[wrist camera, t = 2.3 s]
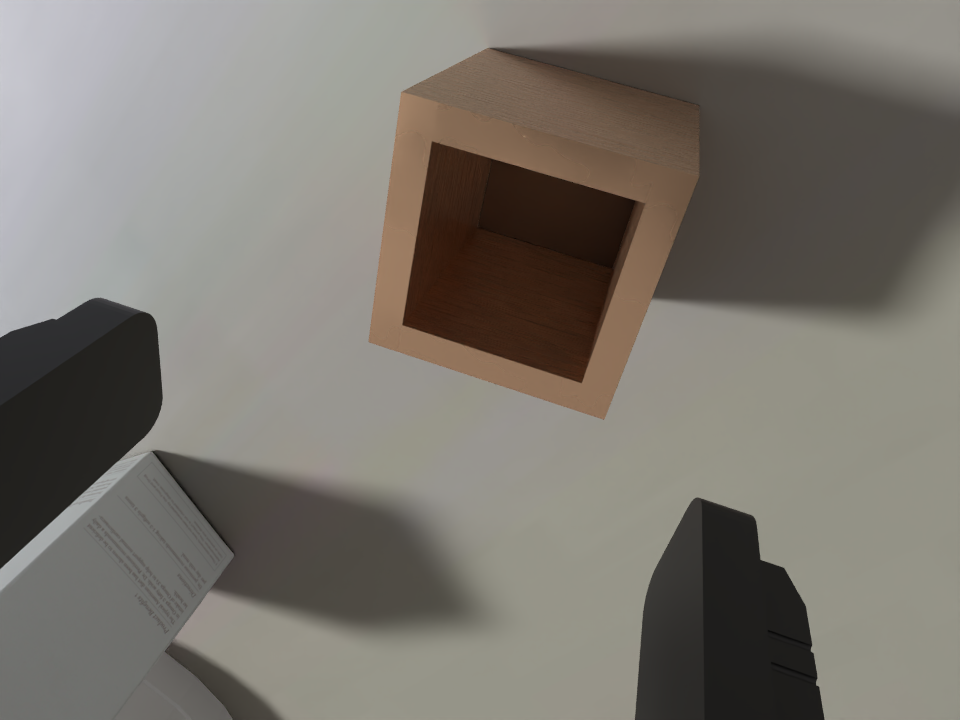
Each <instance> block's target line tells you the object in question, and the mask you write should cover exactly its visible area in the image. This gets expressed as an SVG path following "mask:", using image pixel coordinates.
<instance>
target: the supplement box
mask: <svg viewBox="0 0 960 720" xmlns="http://www.w3.org/2000/svg"><path fill="white" fill-rule="evenodd" d="M233 557H234V554H233V553H232V551H231V550H230V549H229V548H228V547H227V545H226V544H225V543H224V542H223V540H222V539H221V538H220V537H219V535H218V534H217V533H216V532H215V530H214V529H213V528H212V527H211V525H210V524H209V523H208V522H207V520H206V519H205V518H204V517H203V515H202V514H201V513H200V512H199V510H198V509H197V508H196V507H195V505H194V504H193V503H192V502H191V500H190V499H189V498H188V496H187V495H186V494H185V493H184V491H183V490H182V489H181V488H180V486H179V485H178V484H177V482H176V481H175V480H174V479H173V477H172V476H171V475H170V473H169V472H168V471H167V470H166V468H165V467H164V466H163V465H162V463H161V462H160V461H159V460H158V458H157V457H156V456H155V455H154V453H153V452H147V453H144V454H140V455H137V456H133V457H130V458H127V459H124V460H120V461H118V462H117V463H115V464H114V465H113V466H112V467H111V468H110V469H109V470H108V471H107V472H106V473H105V474H103V475H102V476H101V477H100V478H99V479H98V480H97V481H96V482H95V483H94V484H93V485H91V486H90V487H89V488H88V489H87V490H86V491H85V492H84V493H83V494H82V495H81V496H79V497H78V498H77V499H76V500H75V501H74V502H73V503H72V504H71V505H70V506H69V507H67V508H66V509H65V510H64V511H63V512H62V513H61V514H60V515H59V516H58V517H57V518H56V519H54V520H53V521H52V522H51V523H50V524H49V525H48V526H47V527H46V528H45V529H44V530H42V531H41V532H40V533H39V534H38V535H37V536H36V537H35V538H34V539H33V540H32V541H30V542H29V543H28V544H27V545H26V546H25V547H24V548H23V549H22V550H21V551H20V552H18V553H17V554H16V555H15V556H14V557H13V558H12V559H11V560H10V561H9V562H8V563H6V564H5V565H4V566H3V567H2V568H1V569H0V720H114V719H115V718H116V716H117V715H118V714H119V712H120V711H121V710H122V708H123V707H124V706H125V704H126V703H127V702H128V700H129V699H130V697H131V696H132V695H133V694H134V692H135V691H136V690H137V688H138V687H139V686H140V684H141V683H142V681H143V680H144V679H145V677H146V676H147V675H148V673H149V672H150V671H151V669H152V668H153V666H154V665H155V664H156V663H157V661H158V660H159V658H160V657H161V656H162V654H163V653H164V652H165V650H166V649H167V648H168V646H169V645H170V644H171V642H172V641H173V640H174V638H175V637H176V636H177V634H178V633H179V631H180V630H181V629H182V627H183V626H184V624H185V623H186V622H187V620H188V619H189V618H190V617H191V615H192V614H193V612H194V611H195V610H196V608H197V607H198V606H199V604H200V603H201V602H202V600H203V599H204V597H205V596H206V594H207V593H208V592H209V590H210V589H211V587H212V586H213V585H214V583H215V582H216V581H217V579H218V578H219V576H220V575H221V574H222V572H223V571H224V569H225V568H226V567H227V565H228V564H229V563H230V561H231V560H232V559H233Z"/></svg>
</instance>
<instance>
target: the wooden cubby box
mask: <svg viewBox="0 0 960 720" xmlns="http://www.w3.org/2000/svg"><path fill="white" fill-rule="evenodd" d="M492 159H495V160H498V161H502V162H505V163H509V164H512V165H516V166H519V167H522V168H526V169H529V170H533V171H536V172H540V173H543V174H546V175H550V176H553V177H557V178H560V179H564V180H567V181H571V182H574V183H577V184H581V185H584V186H588V187H591V188H595V189H598V190H601V191H605V192H608V193H612V194H615V195H619V196H622V197H626V198H629V199H632V200H636V201H635V204H634V207H633V210H632V213H631V216H630V219H629V221H628V224H627V227H626V230H625V233H624V236H623V239H622V242H621V245H620V248H619V250H618V253H617V256H616V259H615V262H614V265H613V268H609V267H605V266H602V265H599V264H596V263H592V262H589V261H586V260H582V259H579V258H576V257H573V256H569V255H566V254H563V253H559V252H556V251H553V250H549V249H546V248H543V247H540V246H536V245H533V244H530V243H526V242H523V241H520V240H517V239H513V238H510V237H507V236H503V235H500V234H497V233H493V232H490V231H487V230H484V229H480V228H478V223H479V218H480V214H481V209H482V204H483V200H484V195H485V190H486V186H487V181H488V176H489V172H490V167H491V162H492ZM698 179H699V105H696V104H692V103H688V102H685V101H681V100H677V99H674V98H670V97H666V96H663V95H659V94H655V93H652V92H648V91H644V90H641V89H637V88H633V87H630V86H626V85H622V84H619V83H615V82H611V81H608V80H604V79H600V78H597V77H593V76H589V75H585V74H582V73H578V72H574V71H571V70H567V69H563V68H560V67H556V66H552V65H549V64H545V63H541V62H538V61H534V60H530V59H527V58H523V57H519V56H516V55H512V54H508V53H505V52H501V51H497V50H494V49H490V48H487V49H485V50H483V51H481V52H479V53H477V54H475V55H473V56H471V57H469V58H467V59H465V60H463V61H461V62H459V63H457V64H455V65H453V66H451V67H449V68H447V69H446V70H444V71H442V72H440V73H438V74H436V75H434V76H432V77H430V78H428V79H426V80H424V81H422V82H420V83H418V84H416V85H414V86H412V87H410V88H408V89H406V90H404V91H402V92H401V98H400V106H399V114H398V121H397V129H396V136H395V144H394V152H393V159H392V167H391V174H390V182H389V190H388V197H387V205H386V213H385V220H384V228H383V235H382V243H381V251H380V258H379V266H378V274H377V281H376V289H375V296H374V304H373V312H372V319H371V327H370V335H369V342H370V343H373V344H376V345H379V346H382V347H385V348H388V349H391V350H394V351H397V352H400V353H403V354H406V355H409V356H412V357H416V358H419V359H422V360H425V361H428V362H431V363H434V364H437V365H440V366H443V367H446V368H449V369H452V370H455V371H458V372H461V373H464V374H467V375H470V376H473V377H476V378H479V379H482V380H485V381H488V382H491V383H494V384H497V385H500V386H504V387H507V388H510V389H513V390H516V391H519V392H522V393H525V394H528V395H531V396H534V397H537V398H540V399H543V400H546V401H549V402H552V403H555V404H558V405H561V406H564V407H567V408H570V409H573V410H576V411H579V412H582V413H585V414H588V415H591V416H595V417H598V418H601V419H605V416H606V414H607V411H608V409H609V406H610V404H611V401H612V398H613V396H614V393H615V391H616V388H617V386H618V383H619V381H620V378H621V375H622V373H623V370H624V368H625V365H626V363H627V360H628V358H629V355H630V352H631V350H632V347H633V345H634V342H635V340H636V337H637V335H638V332H639V329H640V327H641V324H642V322H643V319H644V317H645V314H646V312H647V309H648V306H649V304H650V301H651V299H652V296H653V294H654V291H655V289H656V286H657V283H658V281H659V278H660V276H661V273H662V271H663V268H664V266H665V263H666V260H667V258H668V255H669V253H670V250H671V248H672V245H673V242H674V240H675V237H676V235H677V232H678V230H679V227H680V225H681V222H682V219H683V217H684V214H685V212H686V209H687V207H688V204H689V202H690V199H691V196H692V194H693V191H694V189H695V186H696V184H697V181H698Z"/></svg>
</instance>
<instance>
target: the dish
mask: <svg viewBox="0 0 960 720" xmlns="http://www.w3.org/2000/svg"><path fill="white" fill-rule="evenodd" d="M114 720H233V719H232V717H231V716H230V714H229V713H228V711H227V710H226V708H225V706H224V705H223V704H222V703H221V702H220V701H219V700H218V699H217V698H216V697H215V696H214V695H213V694H212V693H211V692H210V691H209V689H208V688H207V687H206V686H205V685H204V684H203V683H202V682H201V681H200V680H199V679H198V678H197V677H196V676H195V675H193V674H192V673H191V672H190V671H188V670H187V669H186V668H185V667H183V666H182V665H181V664H180V663H178V662H177V661H176V660H174V659H173V658H172V657H171V656H169V655H168V654H167V653H166V652H164V653H163V654H162V656H161V657H160V658H159V660H158V661H157V663H156V664H155V665H154V666H153V668H152V669H151V671H150V672H149V673H148V675H147V676H146V677H145V679H144V680H143V681H142V683H141V684H140V686H139V687H138V688H137V690H136V691H135V692H134V694H133V695H132V696H131V697H130V699H129V700H128V702H127V703H126V704H125V706H124V707H123V708H122V710H121V711H120V712H119V714H118V715H117V716H116V718H115V719H114Z"/></svg>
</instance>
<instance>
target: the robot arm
mask: <svg viewBox="0 0 960 720" xmlns="http://www.w3.org/2000/svg"><path fill="white" fill-rule="evenodd" d="M162 399H163V395H162V382H161V369H160V357H159V345H158V332H157V325H156V322H155V320H154V318H153V317H152V316H151V315H150V314H148V313H146V312H143V311H140V310H137V309H134V308H131V307H128V306H125V305H122V304H119V303H115V302H112V301H109V300H106V299H103V298H94V299H91V300H89V301H87V302H85V303H83V304H82V305H80V306H78V307H77V308H75V309H73V310H72V311H70V312H69V313H67V314H65V315H64V316H62V317H60V318H59V319H57V320H55V319H50V320H47V321H44V322H41V323H37V324H34V325H31V326H28V327H24V328H21V329H18V330H14V331H11V332H9V333H8V334H6V335H4V336H2V337H1V338H0V569H1V568H2V567H3V566H4V565H5V564H6V563H8V562H9V561H10V560H11V559H12V558H13V557H14V556H15V555H16V554H17V553H18V552H20V551H21V550H22V549H23V548H24V547H25V546H26V545H27V544H28V543H29V542H30V541H32V540H33V539H34V538H35V537H36V536H37V535H38V534H39V533H40V532H41V531H42V530H44V529H45V528H46V527H47V526H48V525H49V524H50V523H51V522H52V521H53V520H54V519H56V518H57V517H58V516H59V515H60V514H61V513H62V512H63V511H64V510H65V509H66V508H67V507H69V506H70V505H71V504H72V503H73V502H74V501H75V500H76V499H77V498H78V497H79V496H81V495H82V494H83V493H84V492H85V491H86V490H87V489H88V488H89V487H90V486H91V485H93V484H94V483H95V482H96V481H97V480H98V479H99V478H100V477H101V476H102V475H103V474H105V473H106V472H107V471H108V470H109V469H110V468H111V467H112V466H113V465H114V464H115V463H117V462H118V461H119V460H120V459H121V458H122V457H123V456H124V455H125V454H126V453H127V452H129V451H130V450H131V449H132V448H133V447H134V446H135V445H136V444H137V443H138V442H139V441H141V440H142V439H143V438H144V437H145V436H146V435H147V434H148V432H149V431H150V430H151V428H152V427H153V425H154V424H155V422H156V420H157V418H158V415H159V413H160V410H161V406H162ZM811 646H812V641H811V635H810V629H809V623H808V617H807V611H806V606H805V604H804V602H803V601H802V599H801V597H800V595H799V594H798V592H797V590H796V588H795V586H794V585H793V583H792V581H791V579H790V578H789V576H788V574H787V572H786V570H785V569H784V568H783V567H780V566H777V565H774V564H771V563H768V562H765V561H762V560H760V552H759V542H758V533H757V525H756V521H755V518H754V517H753V516H752V515H749V514H746V513H743V512H740V511H737V510H734V509H731V508H728V507H725V506H722V505H719V504H716V503H713V502H710V501H707V500H704V499H701V498H695V499H694V500H693V501H692V502H691V503H690V505H689V507H688V508H687V510H686V512H685V514H684V516H683V518H682V520H681V521H680V523H679V525H678V527H677V529H676V531H675V533H674V535H673V536H672V538H671V540H670V542H669V544H668V546H667V548H666V550H665V551H664V553H663V555H662V557H661V559H660V561H659V563H658V565H657V567H656V569H655V571H654V573H653V575H652V578H651V581H650V584H649V587H648V591H647V595H646V599H645V604H644V610H643V621H642V635H641V648H640V661H639V674H638V687H637V701H636V714H635V720H824V714H823V708H822V702H821V696H820V690H819V687H818V686H816V680H817V671H816V665H815V659H814V653H812V652H811Z"/></svg>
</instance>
